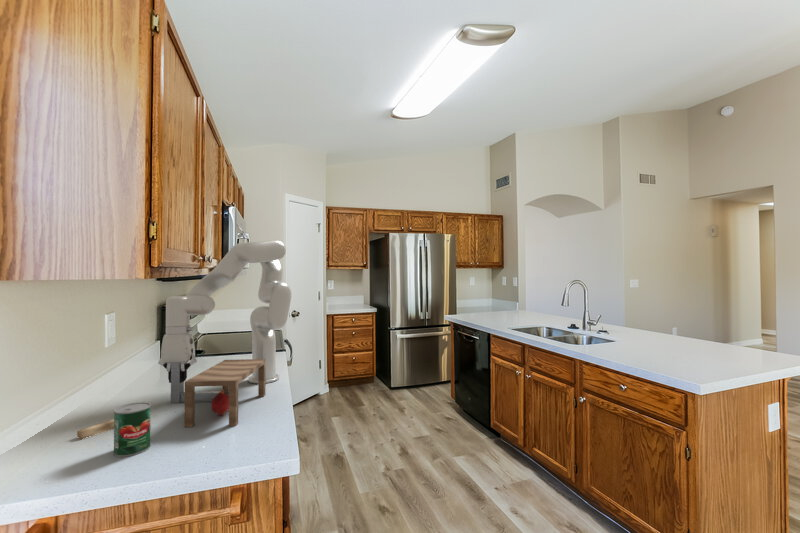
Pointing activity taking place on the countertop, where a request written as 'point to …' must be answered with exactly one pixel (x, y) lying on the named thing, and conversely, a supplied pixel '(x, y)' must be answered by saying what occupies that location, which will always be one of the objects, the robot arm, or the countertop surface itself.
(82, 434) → the wooden bar
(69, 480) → the countertop surface
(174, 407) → the countertop surface
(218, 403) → the onion
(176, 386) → the grey angled piece
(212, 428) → the countertop surface
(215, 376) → the shelf
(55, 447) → the countertop surface
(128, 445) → the canned tomato
